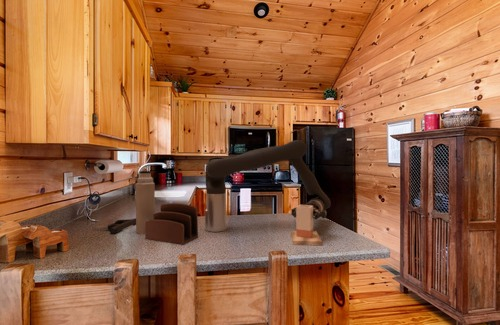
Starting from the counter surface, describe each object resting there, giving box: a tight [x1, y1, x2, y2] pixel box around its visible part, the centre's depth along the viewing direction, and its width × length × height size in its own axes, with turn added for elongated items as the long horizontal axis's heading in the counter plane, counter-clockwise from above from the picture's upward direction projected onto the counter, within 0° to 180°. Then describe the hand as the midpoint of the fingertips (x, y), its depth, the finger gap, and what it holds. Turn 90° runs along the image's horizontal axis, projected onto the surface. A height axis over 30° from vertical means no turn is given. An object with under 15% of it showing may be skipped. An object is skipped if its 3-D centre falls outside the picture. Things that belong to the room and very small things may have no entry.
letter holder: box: [144, 202, 199, 246], centre depth 102 cm, size 10×20×14 cm, turn 67°
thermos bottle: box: [135, 170, 156, 235], centre depth 112 cm, size 8×8×28 cm
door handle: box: [92, 217, 136, 235], centre depth 118 cm, size 3×20×16 cm
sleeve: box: [295, 204, 314, 238], centre depth 99 cm, size 6×6×12 cm
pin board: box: [290, 230, 323, 246], centre depth 99 cm, size 11×14×6 cm
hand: (304, 216), depth 99 cm, fingers open, 8 cm apart
